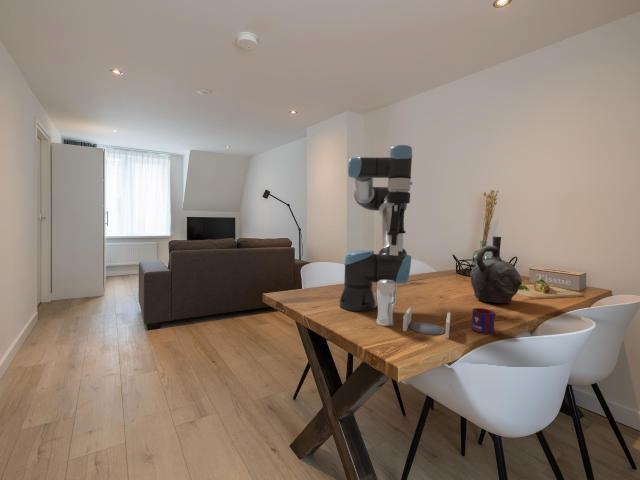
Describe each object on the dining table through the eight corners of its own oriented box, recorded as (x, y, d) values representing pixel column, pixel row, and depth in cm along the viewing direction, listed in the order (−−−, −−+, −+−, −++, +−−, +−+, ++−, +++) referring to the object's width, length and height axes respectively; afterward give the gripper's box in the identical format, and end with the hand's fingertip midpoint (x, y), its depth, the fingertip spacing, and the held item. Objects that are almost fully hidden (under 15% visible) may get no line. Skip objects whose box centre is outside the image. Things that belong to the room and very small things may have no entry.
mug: (466, 328, 109) (468, 309, 108) (485, 325, 113) (487, 306, 113) (484, 335, 103) (486, 314, 102) (504, 331, 108) (505, 311, 107)
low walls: (402, 331, 105) (403, 316, 105) (408, 320, 116) (408, 307, 116) (448, 338, 99) (449, 322, 99) (449, 326, 110) (450, 312, 110)
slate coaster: (407, 331, 105) (407, 329, 105) (412, 321, 115) (412, 320, 115) (443, 337, 100) (443, 335, 100) (445, 326, 110) (445, 325, 110)
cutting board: (532, 300, 154) (533, 285, 153) (493, 289, 176) (494, 276, 175) (585, 297, 163) (586, 282, 163) (541, 287, 186) (542, 274, 185)
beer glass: (391, 328, 108) (392, 284, 107) (371, 323, 111) (373, 281, 110) (397, 322, 114) (399, 280, 112) (379, 318, 117) (380, 278, 116)
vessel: (513, 312, 130) (518, 239, 128) (458, 301, 145) (461, 235, 143) (526, 302, 148) (530, 237, 146) (475, 293, 163) (479, 234, 161)
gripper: (406, 188, 97) (403, 257, 99) (413, 194, 120) (410, 250, 122) (381, 188, 100) (379, 256, 101) (392, 194, 123) (390, 249, 125)
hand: (396, 253), depth 112 cm, fingers open, 13 cm apart
